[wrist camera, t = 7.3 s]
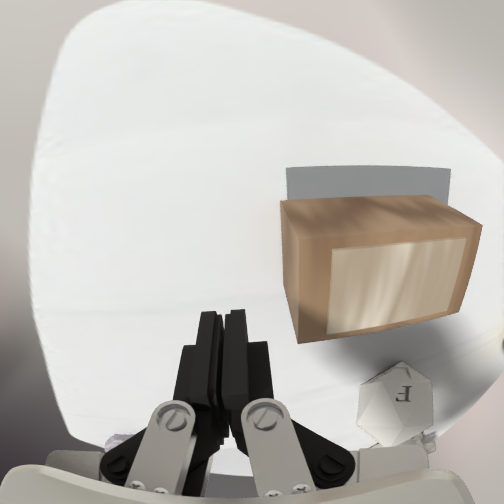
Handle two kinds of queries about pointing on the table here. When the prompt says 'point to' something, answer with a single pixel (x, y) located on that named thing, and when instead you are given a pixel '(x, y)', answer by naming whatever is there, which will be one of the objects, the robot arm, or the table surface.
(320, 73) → the table surface
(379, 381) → the die
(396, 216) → the walnut block
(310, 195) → the pad
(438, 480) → the robot arm
